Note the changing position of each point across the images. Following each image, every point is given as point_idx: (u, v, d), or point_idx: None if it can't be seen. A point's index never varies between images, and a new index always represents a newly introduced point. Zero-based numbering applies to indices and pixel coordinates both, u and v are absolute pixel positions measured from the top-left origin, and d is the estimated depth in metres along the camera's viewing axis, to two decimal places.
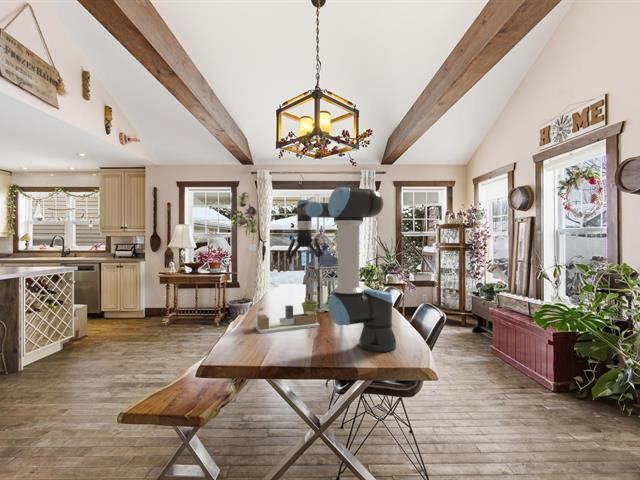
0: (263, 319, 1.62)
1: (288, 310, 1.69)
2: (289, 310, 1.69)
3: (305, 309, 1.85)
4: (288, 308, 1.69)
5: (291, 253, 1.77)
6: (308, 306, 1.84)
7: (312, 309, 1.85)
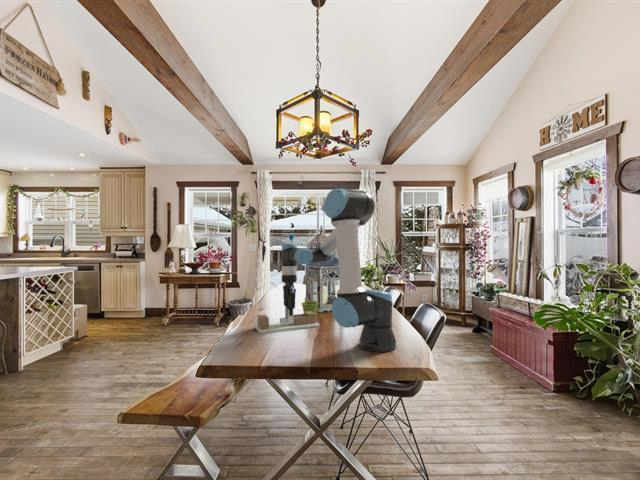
0: (263, 319, 1.62)
1: None
2: None
3: (305, 309, 1.85)
4: None
5: None
6: (308, 306, 1.84)
7: (312, 309, 1.85)
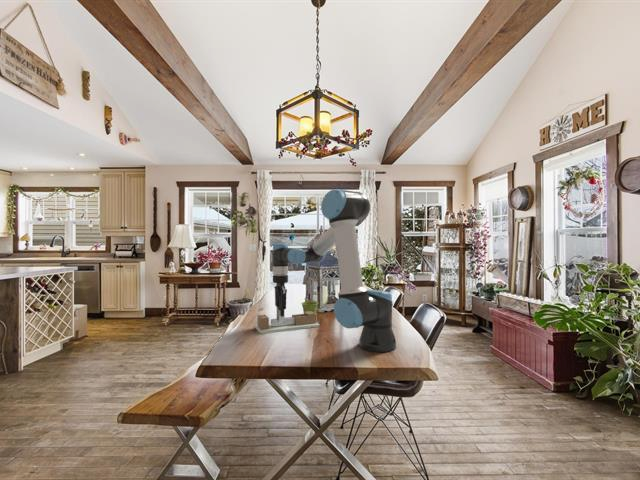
0: (263, 319, 1.62)
1: None
2: None
3: (305, 309, 1.85)
4: None
5: None
6: (308, 306, 1.84)
7: (312, 309, 1.85)
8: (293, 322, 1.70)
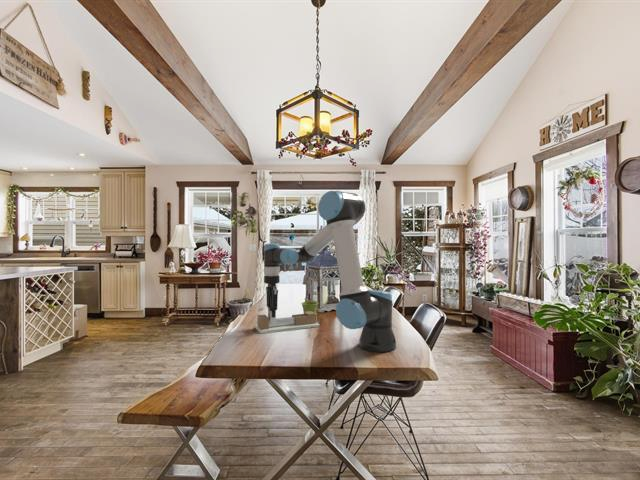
0: (263, 319, 1.62)
1: None
2: None
3: (305, 309, 1.85)
4: None
5: None
6: (308, 306, 1.84)
7: (312, 309, 1.85)
8: (285, 323, 1.68)
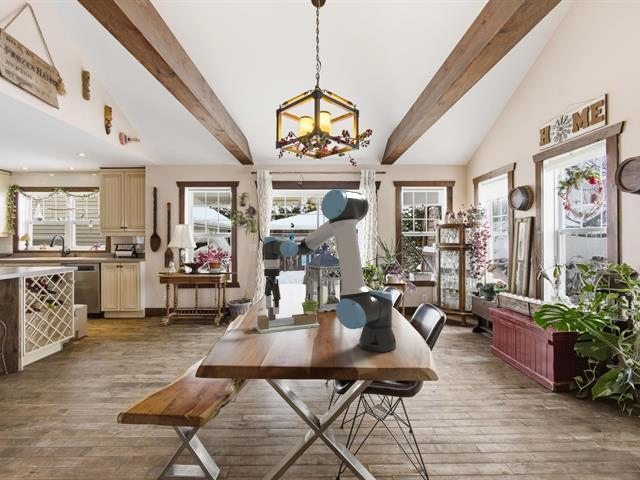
0: (263, 319, 1.62)
1: (270, 312, 1.65)
2: (271, 311, 1.65)
3: (305, 309, 1.85)
4: (270, 310, 1.65)
5: None
6: (308, 306, 1.84)
7: (312, 309, 1.85)
8: (284, 323, 1.68)
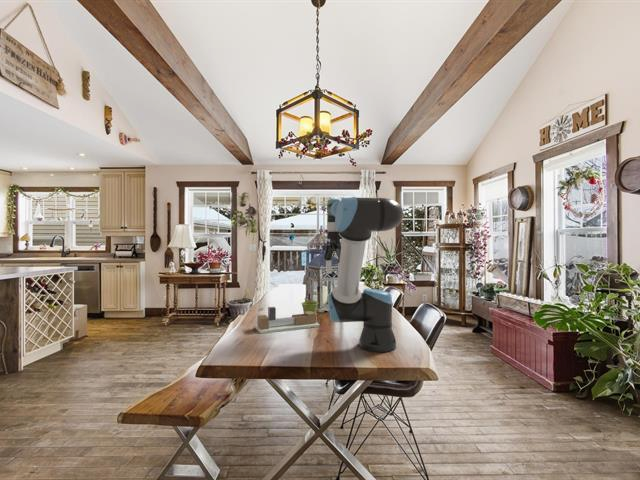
0: (263, 319, 1.62)
1: (270, 312, 1.65)
2: (271, 311, 1.65)
3: (305, 309, 1.85)
4: (270, 310, 1.65)
5: None
6: (308, 306, 1.84)
7: (312, 309, 1.85)
8: (284, 323, 1.68)
